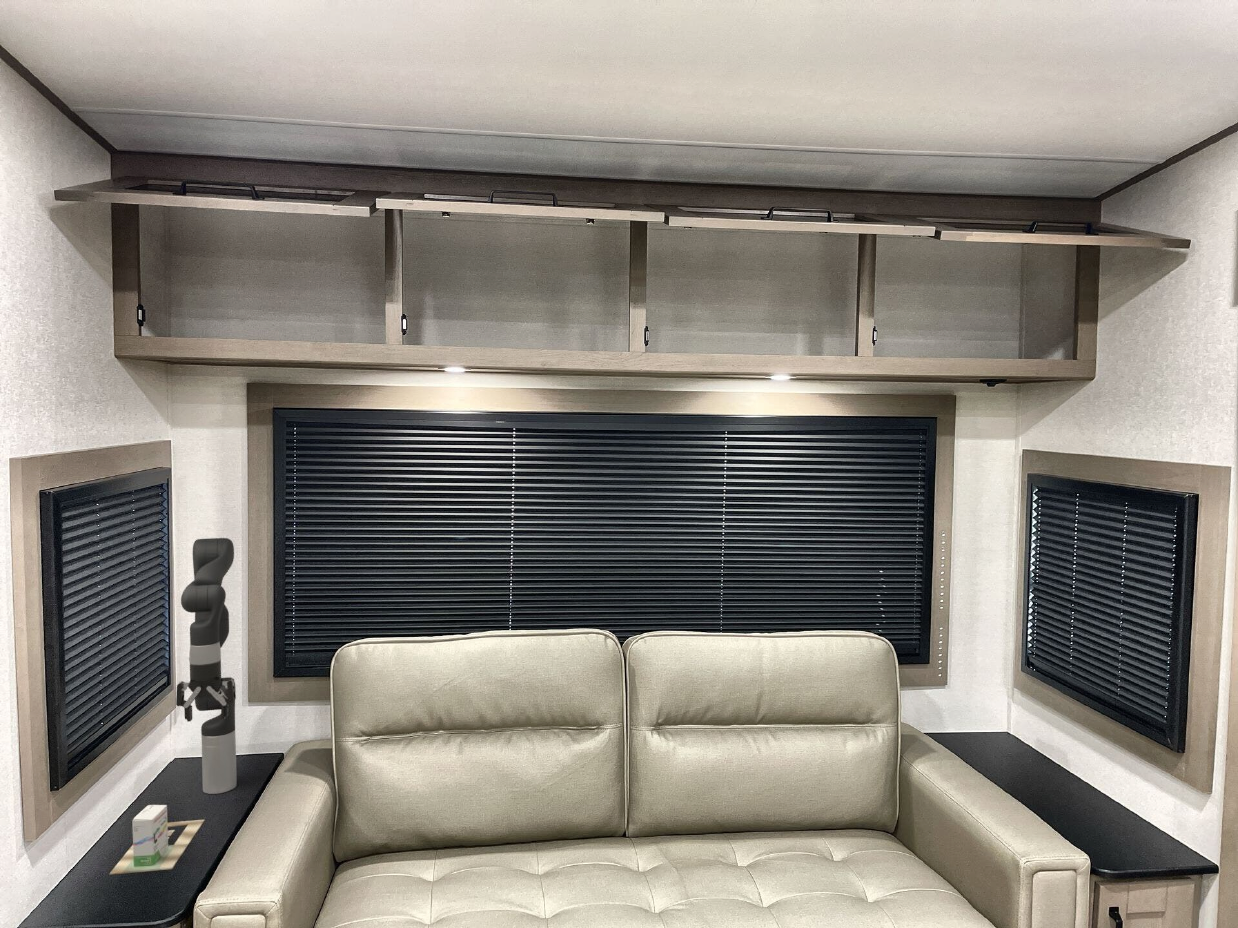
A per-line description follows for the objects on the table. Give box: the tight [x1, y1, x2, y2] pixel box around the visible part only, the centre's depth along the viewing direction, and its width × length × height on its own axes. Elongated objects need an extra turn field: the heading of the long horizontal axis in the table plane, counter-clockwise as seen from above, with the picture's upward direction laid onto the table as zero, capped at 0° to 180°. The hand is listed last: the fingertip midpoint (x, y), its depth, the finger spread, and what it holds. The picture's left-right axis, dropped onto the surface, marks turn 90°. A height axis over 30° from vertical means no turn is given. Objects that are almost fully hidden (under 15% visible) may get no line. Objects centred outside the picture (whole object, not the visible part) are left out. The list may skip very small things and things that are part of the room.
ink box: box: [131, 804, 169, 866], centre depth 210 cm, size 8×5×12 cm, turn 5°
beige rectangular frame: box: [109, 819, 205, 875], centre depth 216 cm, size 26×14×1 cm, turn 10°
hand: (206, 719), depth 224 cm, fingers open, 8 cm apart
